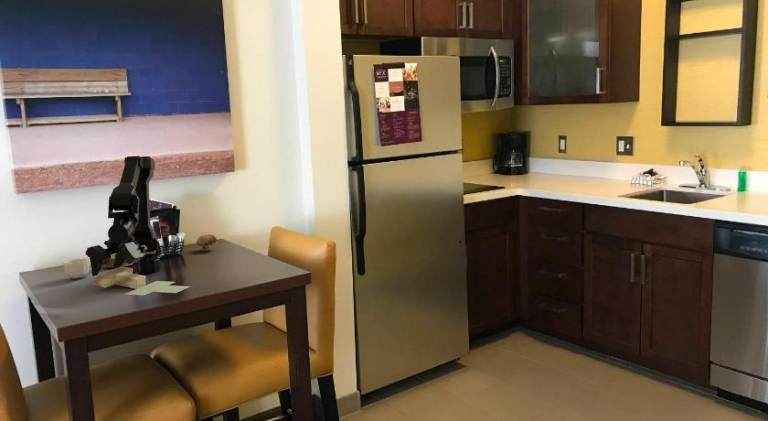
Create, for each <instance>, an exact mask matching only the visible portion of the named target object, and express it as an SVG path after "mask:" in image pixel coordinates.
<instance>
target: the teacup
mask: <svg viewBox="0 0 768 421" xmlns="http://www.w3.org/2000/svg"><path fill="white" fill-rule="evenodd" d="M62 265H63V269H64V273H65V275H66V276H67V277H68V278H70V279H81V278H84V277H86V276H87V275H88V274H89V272H90V271H91V272H92V268H91V262H90V258H75V259H67V260H66V261H65V260H64V261H63V262H62Z"/></svg>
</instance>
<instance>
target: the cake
mask: <svg viewBox="0 0 768 421" xmlns="http://www.w3.org/2000/svg"><path fill="white" fill-rule="evenodd" d="M115 256H116V254H114V255H111V259H110V260H109V261H108V262H109V263H107V264H104V265H103V266H102V268H103V267H104V268H114V262H115ZM133 264H134V263H132V264H128V263H127V262H126V261H125V262H124V263H123V264H122V266H124V267H128V266H131V265H133ZM122 266H121V267H122Z"/></svg>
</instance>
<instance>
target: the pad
mask: <svg viewBox="0 0 768 421" xmlns="http://www.w3.org/2000/svg"><path fill="white" fill-rule="evenodd" d="M175 283H176V281H166V280H165V281H164V280H156V281H153V282H151V283H148V284H146V286H143V287H141V288H138V289H134V290H131V291H129V292H126V293H124V295H127V296H129V295H130V296H147V295H148V294H152V293H165V294H166V293H168V294H169V293H170V294H177V293H180V292H181V291H184V290H186V289H188V288H191V286H189V285H188V286H187V285H172V284H175Z"/></svg>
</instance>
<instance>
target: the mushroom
mask: <svg viewBox="0 0 768 421" xmlns="http://www.w3.org/2000/svg"><path fill="white" fill-rule="evenodd" d="M217 243H218V239H217V237H216V236H215V235H213V234H210V233H206V234H202V235H200V236H199V237H198V238H197V239H196V244H197V246H199V247H202V248H201V251H202V252H208V251H209V250H210V249H211V246H214V245H216V244H217Z"/></svg>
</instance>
